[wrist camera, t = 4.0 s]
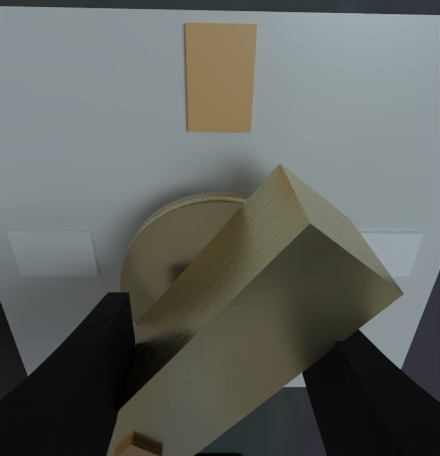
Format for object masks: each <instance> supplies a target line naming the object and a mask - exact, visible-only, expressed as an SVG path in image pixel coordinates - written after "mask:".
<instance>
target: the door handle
mask: <svg viewBox="0 0 440 456" xmlns="http://www.w3.org/2000/svg"><path fill="white" fill-rule="evenodd" d="M120 290H121V292H129V296H130V304H131V311H132V319H133V322H134V323H135V324H136V325H135V326H134V335H135V348H134V352H133V356H132V360H131V364H130V368H129V372H128V375H127V379H126V382H125V385H124V388H123V392H122V395H121V398H120V401H119V405H118V408H117V411H116V418H117V422H116V425H115V428H114V432H113V435H112V439H111V442H110V445H109V449H108V452H107V456H194V455H196V454H197V453H198V452H199V451H201V450H202V449H203V448H205V447H206V446H207V445H209V444H210V443H211V442H212V441H214V440H215V439H216V438H218V437H219V436H220V435H222V434H223V433H224V432H225V431H227V430H228V429H229V428H231V427H232V426H233V425H235V424H236V423H237V422H238V421H240V420H241V419H242V418H244V417H245V416H246V415H248V414H249V413H250V412H251V411H253V410H254V409H255V408H257V407H258V406H259V405H261V404H262V403H263V402H264V401H266V400H267V399H268V398H270V397H271V396H272V395H274V394H275V393H276V392H277V391H279V390H280V389H281V388H283V387H284V386H285V385H287V384H288V383H289V382H290V381H292V380H293V379H294V378H296V377H297V376H298V375H300V374H301V373H302V372H303V371H305V370H306V369H307V368H309V367H310V366H311V365H313V364H314V363H315V362H316V361H318V360H319V359H320V358H322V357H323V356H324V355H326V354H327V353H328V352H329V351H331V350H332V349H333V348H334V346H335V342H336V341H344V340H345V339H346V338H348V337H349V336H350V335H352V334H353V333H354V332H355V331H357V330H358V329H359V328H361V327H362V326H363V325H365V324H366V323H367V322H368V321H370V320H371V319H372V318H374V317H375V316H376V315H378V314H379V313H380V312H381V311H383V310H384V309H385V308H387V307H388V306H389V305H391V304H392V303H393V302H394V301H396V300H397V299H398V298H400V297H401V296H402V295H404V293H403V292H402V291H401V289H400V288H399V286H398V285H397V284H396V282H395V281H394V279H393V278H392V277H391V275H390V274H389V272H388V271H387V270H386V268H385V267H384V266H383V264H382V263H381V261H380V260H379V259H378V257H377V256H376V254H375V253H374V252H373V250H372V249H371V247H370V246H369V245H368V243H367V242H366V241H365V239H364V238H363V236H362V235H361V234H360V232H359V231H358V229H357V228H356V227H355V225H354V224H353V222H352V221H351V220H350V219H349V218H348V217H347V216H346V215H344V214H343V213H342V212H341V211H339V210H338V209H337V208H336V207H334V206H333V205H332V204H331V203H329V202H328V201H327V200H326V199H324V198H323V197H322V196H321V195H319V194H318V193H317V192H316V191H314V190H313V189H312V188H311V187H309V186H308V185H307V184H306V183H304V182H303V181H302V180H301V179H299V178H298V177H297V176H296V175H294V174H293V173H292V172H291V171H289V170H288V169H287V168H286V167H284V166H283V165H282V164H281V163H280V164H279V165H278V166H277V167H276V168H275V169H274V170H273V172H272V173H271V174H270V175H269V176H268V177H267V178H266V179H265V180H264V182H263V183H262V184H261V185H260V186H259V187H258V188H257V189H256V191H255V192H254V193H253V194H252V195H251V196H248V195H244V194H239V193H234V192H220V191H217V192H204V193H198V194H193V195H189V196H186V197H183V198H180V199H177V200H175V201H173V202H171V203H169V204H167V205H165V206H163V207H162V208H160V209H159V210H157V211H156V212H155V213H153V214H152V215H151V216H150V217H149V218H148V219H147V220H146V221H145V222H144V223H143V224H142V225H141V226H140V228H139V229H138V231H137V232H136V234H135V235H134V237H133V239H132V242H131V244H130V246H129V249H128V251H127V254H126V257H125V259H124V262H123V266H122V269H121V276H120Z"/></svg>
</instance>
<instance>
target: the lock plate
mask: <svg viewBox="0 0 440 456" xmlns="http://www.w3.org/2000/svg"><path fill="white" fill-rule="evenodd" d="M280 163H281V164H282V165H283V166H284V167H286V168H287V169H288V170H289V171H291V172H292V173H293V174H294V175H296V176H297V177H298V178H299V179H301V180H302V181H303V182H304V183H306V184H307V185H308V186H309V187H311V188H312V189H313V190H314V191H316V192H317V193H318V194H319V195H321V196H322V197H323V198H324V199H326V200H327V201H328V202H329V203H331V204H332V205H333V206H334V207H336V208H337V209H338V210H339V211H341V212H342V213H343V214H344V215H346V216H347V217H348V218H349V219H350V220H351V221H352V222H353V224H354V225H355V227H356V228H357V229H358V231H359V232H360V234H361V235H362V236H363V238H364V239H365V241H366V242H367V243H368V245H369V246H370V247H371V249H372V250H373V252H374V253H375V254H376V256H377V257H378V259H379V260H380V261H381V263H382V264H383V266H384V267H385V268H386V270H387V271H388V272H389V274H390V275H391V277H392V278H393V279H394V281H395V282H396V284H397V285H398V286H399V288H400V289H401V291H402V292H403V293H404V295H402V296H401V297H400V298H398V299H397V300H396V301H394V302H393V303H392V304H391V305H389V306H388V307H387V308H385V309H384V310H383V311H381V312H380V313H379V314H378V315H376V316H375V317H374V318H372V319H371V320H370V321H368V322H367V323H366V324H365V325H363V326H362V327H361V328H359V330H360V331H361V332H362V333H363V334H364V335H365V336H366V337H367V338H368V339H369V340H370V341H371V342H372V343H373V344H374V345H375V346H376V347H377V348H378V349H379V350H380V351H381V352H382V353H383V354H384V355H385V356H386V357H387V358H388V359H390V360H391V361H392V362H393V363H394V364H395V365H396V366H397V367H398V368H399V369H401V368H402V365H403V362H404V360H405V357H406V355H407V352H408V350H409V347H410V344H411V342H412V339H413V337H414V334H415V332H416V329H417V326H418V324H419V321H420V319H421V316H422V314H423V311H424V308H425V306H426V303H427V301H428V298H429V296H430V293H431V290H432V288H433V285H434V283H435V280H436V278H437V275H438V272H439V270H440V15H397V14H348V13H299V12H251V11H202V10H153V9H104V8H55V7H6V6H0V301H1V304H2V307H3V310H4V312H5V315H6V318H7V320H8V323H9V326H10V329H11V331H12V334H13V337H14V339H15V342H16V345H17V348H18V350H19V353H20V356H21V359H22V361H23V364H24V367H25V369H26V372H27V375H28V376H29V375H30V374H31V373H32V372H33V371H34V370H35V369H36V368H37V367H38V366H39V365H40V364H41V363H42V362H43V361H44V360H45V359H46V358H47V357H49V356H50V355H51V354H52V353H53V352H54V351H55V350H56V349H57V348H58V347H59V346H60V345H61V343H62V342H63V341H64V340H65V339H66V338H67V337H68V336H69V335H70V334H71V333H72V332H73V331H74V330H75V329H76V327H77V326H78V325H79V324H80V323H81V322H82V321H83V320H84V319H85V318H86V316H87V315H88V314H89V313H90V312H91V311H92V310H93V308H94V307H95V306H96V305H97V304H98V303H99V301H100V300H101V299H102V298H103V297H104V296H105V295H106V294H107V293H108V292H121V290H120V276H121V269H122V266H123V262H124V259H125V257H126V254H127V251H128V249H129V246H130V244H131V242H132V239H133V237H134V235H135V234H136V232H137V231H138V229H139V228H140V226H141V225H142V224H143V223H144V222H145V221H146V220H147V219H148V218H149V217H150V216H151V215H152V214H153V213H155V212H156V211H157V210H159V209H160V208H162V207H163V206H165V205H167V204H169V203H171V202H173V201H175V200H177V199H180V198H183V197H186V196H189V195H193V194H198V193H204V192H217V191H220V192H234V193H239V194H244V195H248V196H251V195H252V194H253V193H254V192H255V191H256V189H257V188H258V187H259V186H260V185H261V184H262V183H263V182H264V180H265V179H266V178H267V177H268V176H269V175H270V174H271V173H272V172H273V170H274V169H275V168H276V167H277V166H278V165H279V164H280ZM135 325H136V324H135V323H134V322H133V327H134V326H135ZM284 387H306V385H305V382H304V378H303V375H302V373H301V374H300V375H298V376H297V377H296V378H294V379H293V380H292V381H290V382H289V383H288V384H287V385H285V386H284Z"/></svg>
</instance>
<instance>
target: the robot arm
mask: <svg viewBox="0 0 440 456" xmlns="http://www.w3.org/2000/svg"><path fill="white" fill-rule="evenodd" d="M134 348H135V335H134V327H133V319H132V311H131V304H130V296H129V292H108V293H107V294H106V295H105V296H104V297H103V298H102V299H101V300H100V301H99V303H98V304H97V305H96V306H95V307H94V308H93V310H92V311H91V312H90V313H89V314H88V315H87V316H86V318H85V319H84V320H83V321H82V322H81V323H80V324H79V325H78V326H77V327H76V329H75V330H74V331H73V332H72V333H71V334H70V335H69V336H68V337H67V338H66V339H65V340H64V341H63V342H62V343H61V345H60V346H59V347H58V348H57V349H56V350H55V351H54V352H53V353H52V354H51V355H50V356H49V357H47V358H46V359H45V360H44V361H43V362H42V363H41V364H40V365H39V366H38V367H37V368H36V369H35V370H34V371H33V372H32V373H31V374H30V375H29V376H28V377H27V378H25V379H24V380H23V381H22V382H21V383H20V384H19V385H18V386H17V387H15V388H14V389H13V390H12V391H11V392H10V393H8V394H7V395H6V396H5V397H4V398H2V399H1V400H0V456H107V452H108V449H109V445H110V442H111V439H112V435H113V432H114V428H115V425H116V422H117V418H116V411H117V408H118V405H119V401H120V398H121V395H122V392H123V388H124V385H125V382H126V379H127V375H128V372H129V368H130V364H131V360H132V356H133V352H134ZM302 375H303V378H304V382H305V385H306V388H307V392H308V395H309V398H310V402H311V405H312V408H313V411H314V415H315V418H316V421H317V424H318V428H319V431H320V434H321V437H322V441H323V444H324V447H325V450H326V454H327V456H440V402H439V401H437V400H436V399H435V398H434V397H432V396H431V395H430V394H429V393H427V392H426V391H425V390H424V389H422V388H421V387H420V386H419V385H418V384H416V383H415V382H414V381H413V380H412V379H411V378H409V377H408V376H407V375H406V374H405V373H404V372H403V371H402V370H401V369H399V368H398V367H397V366H396V365H395V364H394V363H393V362H392V361H391V360H390V359H388V358H387V357H386V356H385V355H384V354H383V353H382V352H381V351H380V350H379V349H378V348H377V347H376V346H375V345H374V344H373V343H372V342H371V341H370V340H369V339H368V338H367V337H366V336H365V335H364V334H363V333H362V332H361V331H360V330H359V329H358V330H357V331H355V332H354V333H353V334H352V335H350V336H349V337H348V338H346V339H345V340H344V341H336V342H335V346H334V348H333V349H332V350H331V351H329V352H328V353H327V354H326V355H324V356H323V357H322V358H320V359H319V360H318V361H316V362H315V363H314V364H313V365H311V366H310V367H309V368H307V369H306V370H305V371H303V372H302Z"/></svg>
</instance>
